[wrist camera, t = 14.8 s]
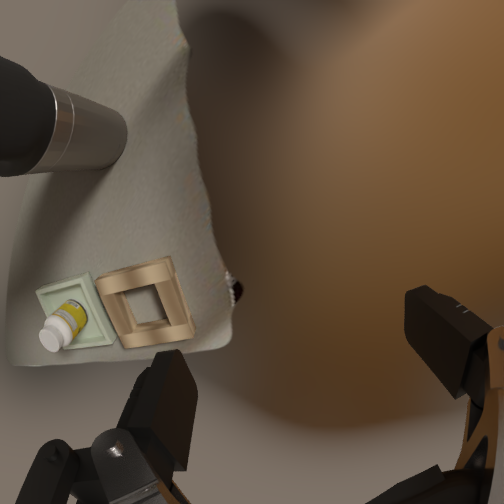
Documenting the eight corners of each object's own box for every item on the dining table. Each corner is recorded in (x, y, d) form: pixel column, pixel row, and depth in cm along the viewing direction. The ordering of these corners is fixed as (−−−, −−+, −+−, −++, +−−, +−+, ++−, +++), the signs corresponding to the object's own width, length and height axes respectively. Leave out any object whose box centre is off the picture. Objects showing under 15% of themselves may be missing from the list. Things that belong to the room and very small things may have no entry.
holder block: (130, 338, 43) (125, 348, 40) (102, 273, 40) (94, 280, 37) (196, 327, 42) (193, 337, 40) (170, 255, 39) (165, 262, 36)
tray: (69, 342, 43) (63, 349, 41) (42, 285, 40) (35, 290, 37) (117, 336, 43) (112, 343, 40) (89, 271, 39) (81, 277, 37)
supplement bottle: (75, 328, 42) (49, 359, 32) (60, 302, 40) (29, 329, 31) (95, 320, 41) (68, 352, 32) (78, 293, 40) (47, 320, 30)
